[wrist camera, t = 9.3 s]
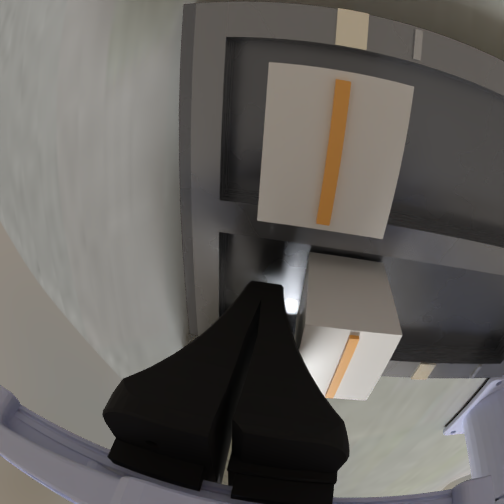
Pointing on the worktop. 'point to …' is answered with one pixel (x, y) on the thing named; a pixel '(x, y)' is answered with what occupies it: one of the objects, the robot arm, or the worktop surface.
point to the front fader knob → (331, 149)
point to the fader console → (406, 193)
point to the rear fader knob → (346, 324)
